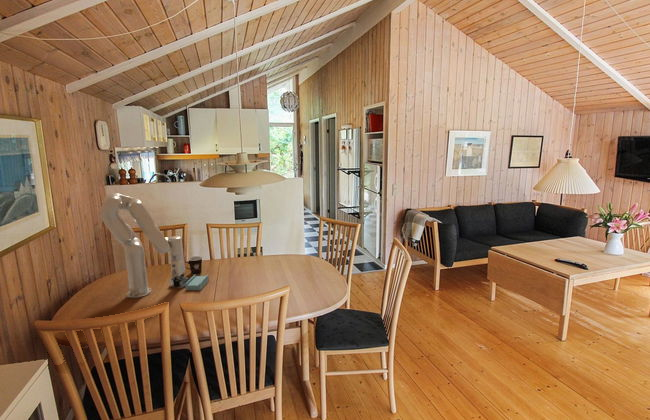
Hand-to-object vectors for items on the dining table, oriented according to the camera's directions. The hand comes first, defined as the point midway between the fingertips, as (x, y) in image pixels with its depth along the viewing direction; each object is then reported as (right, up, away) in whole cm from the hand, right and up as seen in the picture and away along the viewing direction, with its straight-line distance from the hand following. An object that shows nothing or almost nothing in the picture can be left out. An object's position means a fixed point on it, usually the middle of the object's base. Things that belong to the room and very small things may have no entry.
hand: (179, 283), depth 221 cm
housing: (0, -1, 0) cm, 1 cm away
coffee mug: (+2, +3, +20) cm, 20 cm away
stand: (+11, -1, 0) cm, 11 cm away
